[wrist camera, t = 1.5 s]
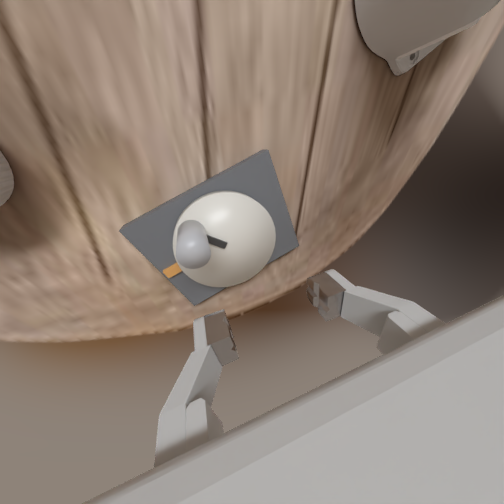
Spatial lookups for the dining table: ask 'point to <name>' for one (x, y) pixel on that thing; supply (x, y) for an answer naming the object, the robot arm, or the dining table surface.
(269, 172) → the dial board
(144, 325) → the dining table surface
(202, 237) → the dial
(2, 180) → the ramekin
